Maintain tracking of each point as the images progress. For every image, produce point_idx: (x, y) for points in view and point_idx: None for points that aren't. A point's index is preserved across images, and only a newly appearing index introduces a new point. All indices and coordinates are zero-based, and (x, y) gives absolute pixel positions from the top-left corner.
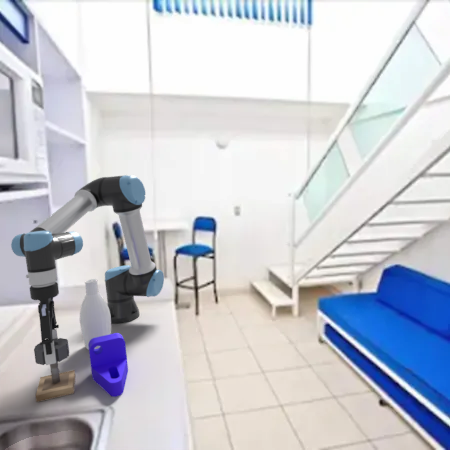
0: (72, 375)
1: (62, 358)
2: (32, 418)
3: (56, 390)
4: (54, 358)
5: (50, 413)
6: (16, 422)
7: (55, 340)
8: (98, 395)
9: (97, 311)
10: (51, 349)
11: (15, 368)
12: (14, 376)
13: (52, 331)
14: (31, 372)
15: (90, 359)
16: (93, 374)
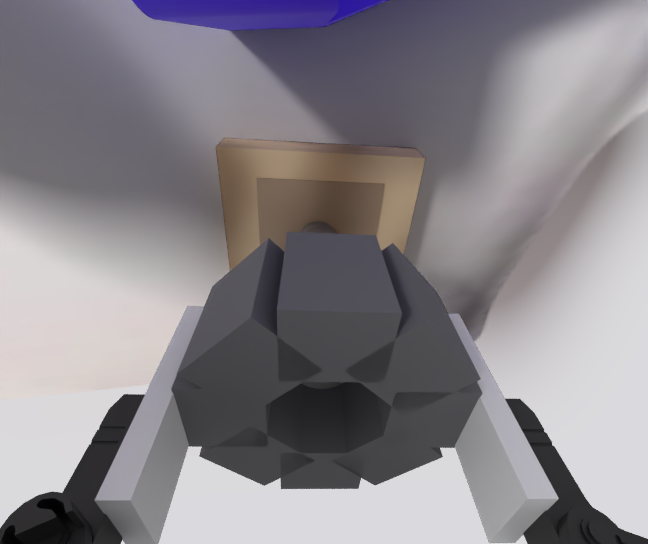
0: (285, 160)
1: (424, 282)
2: (490, 288)
3: (405, 233)
4: (472, 346)
5: (508, 238)
6: (475, 325)
7: (235, 401)
8: (536, 5)
9: None
10: (535, 437)
11: (71, 367)
12: (142, 362)
13: (146, 505)
14: (122, 319)
15: (294, 21)
16: (347, 16)
